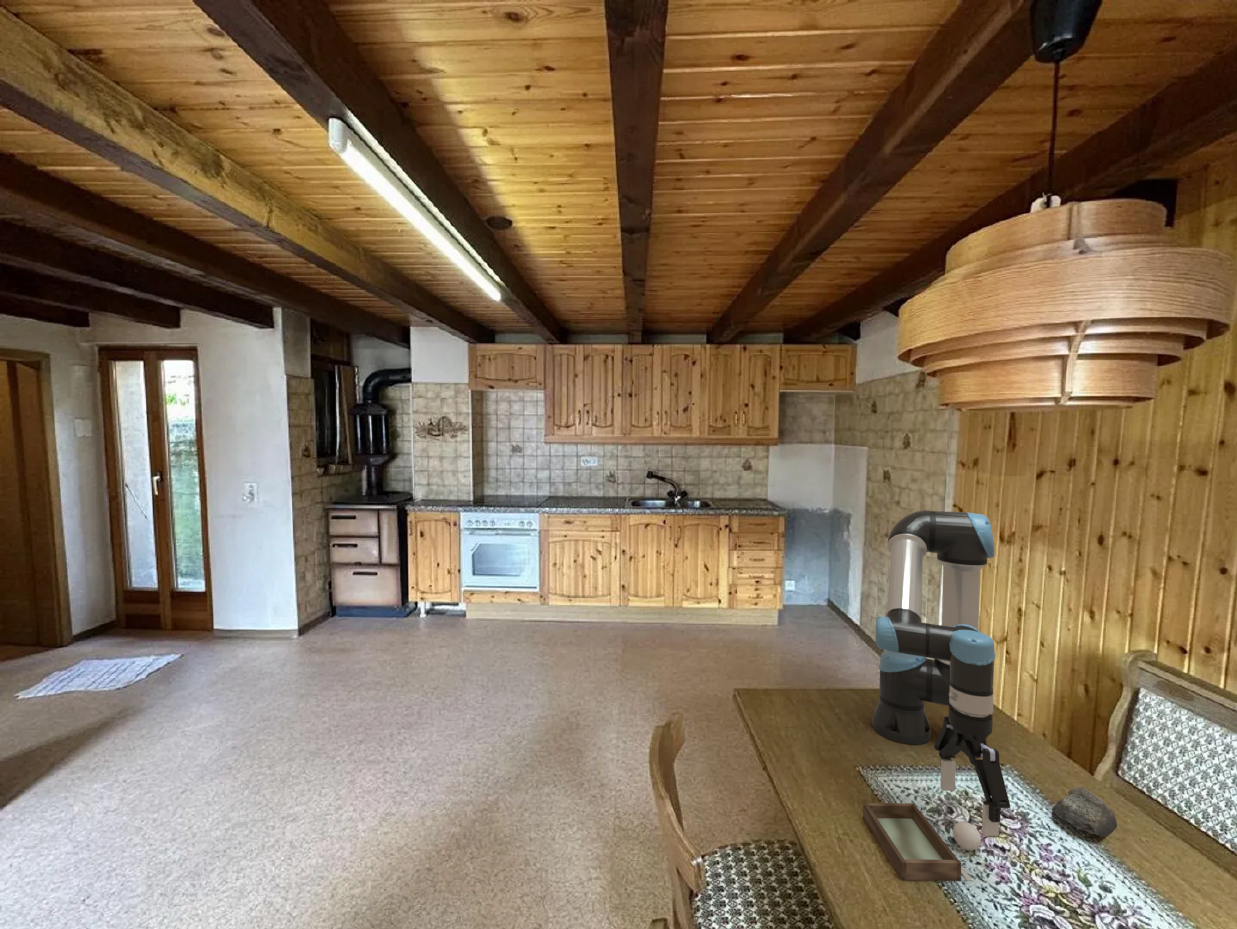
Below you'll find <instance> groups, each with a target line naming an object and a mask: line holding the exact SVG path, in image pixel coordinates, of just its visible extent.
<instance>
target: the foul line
mask: <svg viewBox="0 0 1237 929" xmlns="http://www.w3.org/2000/svg"><path fill="white" fill-rule="evenodd" d="M961 877H963V878H964V879H965V881H967V882H972V881H973V879H972V878H971V876H970V875H969V874H968V873H967V871H966V870H965V869H964V868H963V867H962V866H961Z"/></svg>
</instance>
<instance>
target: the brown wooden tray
mask: <svg viewBox="0 0 1237 929" xmlns="http://www.w3.org/2000/svg"><path fill="white" fill-rule="evenodd" d="M862 804H863V805H862V808H863V809H862V819H863V821H864V822H865V823H866V825H867V827H868V829H869V830H870V832H871V833H872V834H873V836H874V839H875V840H876V841H877V843H878V844H879V846H880V847H881V849H882V851H883V852H884V854H885V856H886V857H887V859H888V861H889V862H890V864H891V865H892V866H893V868H894V870H895V871H896V873H897V874H898V876H899V878H900V879H901V881H927V882H928V881H931V882H932V881H935V882H937V881H939V882H943V881H945V882H948V881H951V882H961V881H962V874H961V867H962V862H961V861H960V860H959V858H958V857H957V856H956V855H955V853H954V852H953V851H952V850H951V848H950V847H949V846H948V844H947V843H946V842H945V840H944V839H943V838H942V836H940V834H939V833H938V832H937V830H936V829H935V828H934V827H933V825H931V823H930V822H929V821H928V819H927V818H926V816H924V814H923V813H922V811H920V809H919V808H918V806H917V805H916V804H915V803H904V802H903V803H901V802H899V803H898V802H897V803H896V802H894V803H893V802H886V803H885V802H863V803H862Z"/></svg>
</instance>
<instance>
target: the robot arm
mask: <svg viewBox="0 0 1237 929" xmlns="http://www.w3.org/2000/svg"><path fill="white" fill-rule="evenodd" d="M887 550H888V553H889V554H890V559H889V560H890V563H889V575H888V586H887V587H888V588H887V590H888V591H887V599H886V600H887V602H886V614H885V616H878V617H877V618H876V620H875V632H874V634H875V635H874V636H875V637H874V638H875V639H874V640H875V645H876V647H877V648H878V649H880V650H884V651H883V652H882V653H881V655H880V659H879V666H878V669H879V688H878V689H879V691H878V692H879V697H878V702H877V704H876V706H875V709H874V711H873V714H872V717H871V725H872V728H873V729H874V730H875V732H876V733H878V734H879V735H881V736H883V737H884V738H886V739H889V740H890V741H893V742H898V743H901V744H906V745H923V744H926V743H928V742H929V741H930V740H931V738H932V728H931V725H930V721H929V719H928V716H927V713H926V710H925V702H927V703H933V704H936V705H940V706H945V707H948V716H944V717H943V721H942V722H943V723H942V727H941V729H940V732H939V733H938V736H937V738H936V740H935V742H934V744H933V748H934V750H935V751H938V755H939V758H940V790H941V791H942V792H944V791H947V792H949V791H950V792H956V770H957V769H956V768H957V766H956V765H957V762H956V760H955V759H957V757H956V756H957V755H958V754H959V753H960V752H962V753H964V754H965V755H966V757H968V760H969V764H971V765H972V766H974V770H975V773H976V776H977V778H978V781H979V784H980V787H981V789H982V792H983V795H984V797H985V800H984V799H983V800H982V817H981V819H982V820H981V821H982V823H981V824H982V825H981V834H982V835H983V836H984V837H999V836H1000V822H1001V810H1002V809H1010V808H1011V802H1010V799H1009V795H1008V791H1007V787H1006V784H1005V779H1004V775H1003V771H1002V766H1001V762H1000V752H999V750H998V749H997V748H991V747H989V746H988V743H987V738H988V737H989V736H990V735H991V734H992V733H993V721H994V720H993V718H994V717H993V715H992V714H993V713H994V675H995V674H994V672H995V671H994V669H995V659H996V652H995V641H994V639H993V638H992V637H991V636H990V635H988V634H986V633H984V632H981V631H980V630H979V626H980V622H979V621H980V594H981V593H980V591H981V590H980V589H981V570H982V569H983V568H984V567H986V566H987V565H988V559H992V558H994V557H995V555H996V554H995V542H994V536H993V530H992V526H991V522H990V519H989V518H988V516H986V515H985V514H982V513H974V512H968V511H967V512H964V511H942V510H941V511H939V510H938V511H937V510H928V509H927V510H926V509H925V510H917V511H913V512H912V513H910V514H908V515H906V516H904V517H903V518H900V520H899V521H897V523H896V524H894V526H893V527H892V529H891V531H890V532H889V535H888V538H887ZM927 553H933V554H934V553H935V554H936V560H937V561H938V562H939V563H940V564H941V565H942V567H943V568H942V595H941V596H942V597H941V598H942V603H941V604H942V605H941V624H935V623H934V624H933V623H928V622H923V621H922V619H923V618H922V617H923V616H922V613H923V612H922V611H923V610H922V608H923V605H922V604H923V603H922V602H923V558H924V557H925V556H926V554H927ZM980 758H982V759H980Z"/></svg>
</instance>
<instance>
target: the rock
mask: <svg viewBox="0 0 1237 929" xmlns="http://www.w3.org/2000/svg"><path fill="white" fill-rule="evenodd" d="M1067 794H1068V795H1067V796H1065V797H1063V798H1062V799H1060V800H1059V801H1057V802H1056V803H1055V805H1053V807H1052V809H1051V810H1052V812H1051V816H1052V818H1053V820H1056V821H1058V818H1059V819H1062V820H1064V821H1066V822H1068V823H1070V824H1071V825H1072V826H1073V828H1075V829H1077V830H1078V831H1080V830H1081V831H1084V832H1087V833H1089V834H1091V835H1098V836H1099V837H1100V838H1105V837H1107V836H1109V835H1110V834H1112V833H1113V832H1114V831H1115V829H1117V827H1118V826H1117V825H1118V824H1117V822H1118V821H1117V818H1116V816H1115V815H1116V814H1115V812H1114V810H1113V809H1112V808H1111V807H1110V805H1108V803H1106V802H1105V801H1104V799H1102V798H1101V797H1100V796H1098V795H1097V794H1095V793H1094V792H1092V791H1090V790H1089V789H1087V788H1085V787H1076V788H1074V789H1073V788H1072V789H1071V790H1068V791H1067ZM1057 817H1058V818H1057Z"/></svg>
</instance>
